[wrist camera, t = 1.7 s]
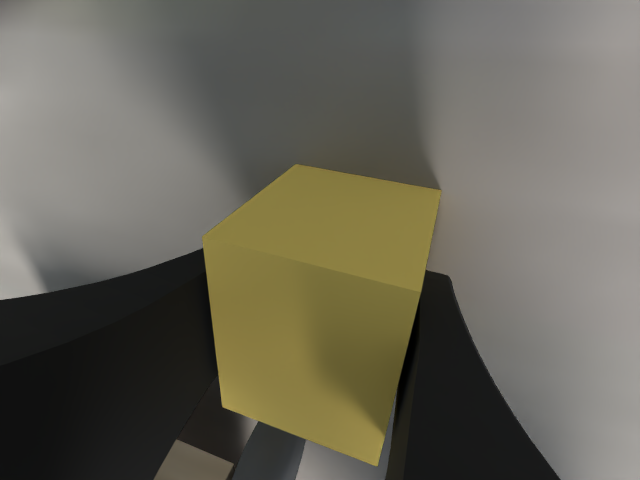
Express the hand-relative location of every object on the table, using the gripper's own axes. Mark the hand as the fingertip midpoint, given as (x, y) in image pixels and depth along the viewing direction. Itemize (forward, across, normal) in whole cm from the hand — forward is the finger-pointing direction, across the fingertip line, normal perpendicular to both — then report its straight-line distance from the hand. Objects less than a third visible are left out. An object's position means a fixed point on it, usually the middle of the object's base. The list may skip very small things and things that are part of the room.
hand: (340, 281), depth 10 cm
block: (+2, 0, 0) cm, 2 cm away
